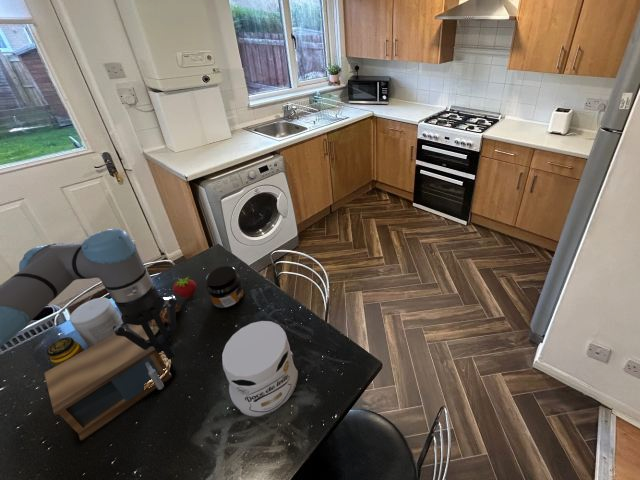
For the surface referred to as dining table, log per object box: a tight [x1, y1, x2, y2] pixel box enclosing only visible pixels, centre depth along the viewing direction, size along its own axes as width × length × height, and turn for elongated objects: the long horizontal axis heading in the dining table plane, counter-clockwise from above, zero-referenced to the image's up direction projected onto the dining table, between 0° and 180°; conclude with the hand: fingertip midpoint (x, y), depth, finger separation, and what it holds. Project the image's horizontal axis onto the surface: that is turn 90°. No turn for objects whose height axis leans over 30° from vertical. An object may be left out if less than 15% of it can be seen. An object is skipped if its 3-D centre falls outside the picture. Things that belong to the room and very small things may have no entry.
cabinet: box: [43, 324, 173, 441], centre depth 82 cm, size 14×20×13 cm
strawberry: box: [172, 275, 197, 300], centre depth 111 cm, size 6×8×10 cm
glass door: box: [111, 353, 166, 402], centre depth 81 cm, size 5×9×10 cm, turn 140°
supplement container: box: [205, 265, 245, 311], centre depth 110 cm, size 10×10×12 cm
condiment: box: [46, 336, 86, 367], centre depth 87 cm, size 7×8×12 cm
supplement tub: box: [69, 297, 122, 348], centre depth 94 cm, size 10×10×15 cm
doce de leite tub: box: [221, 320, 299, 417], centre depth 82 cm, size 17×17×18 cm
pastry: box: [148, 303, 181, 336], centre depth 103 cm, size 7×12×4 cm, turn 174°
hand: (169, 355), depth 82 cm, fingers closed
